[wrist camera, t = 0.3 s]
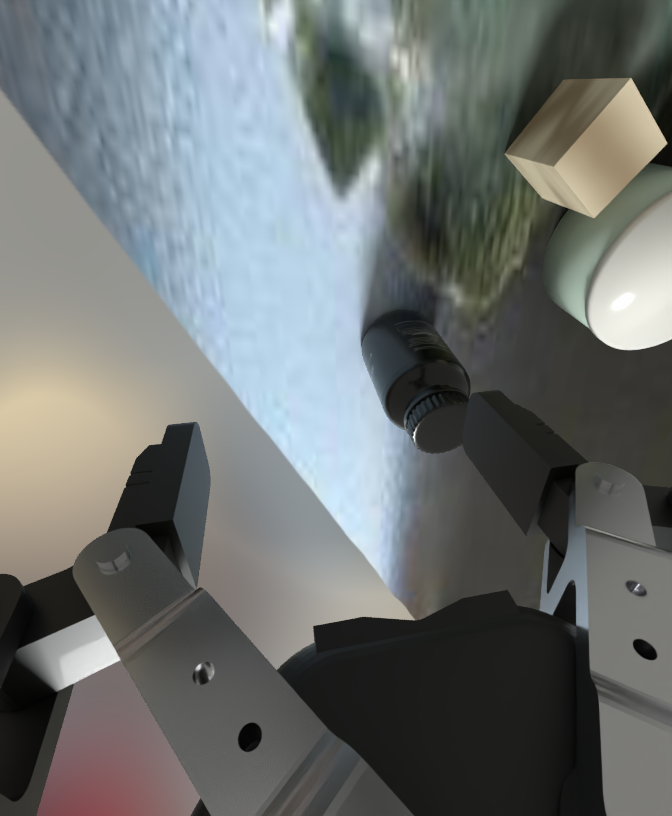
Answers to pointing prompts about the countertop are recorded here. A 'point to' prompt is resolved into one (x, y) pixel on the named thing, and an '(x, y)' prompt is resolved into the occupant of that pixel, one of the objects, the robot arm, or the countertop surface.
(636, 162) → the beech block
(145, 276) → the countertop surface
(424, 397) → the supplement bottle
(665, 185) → the round lidded container
